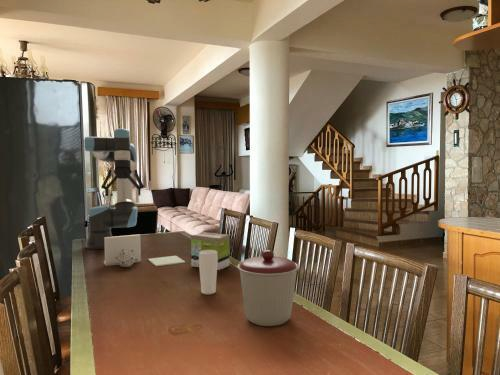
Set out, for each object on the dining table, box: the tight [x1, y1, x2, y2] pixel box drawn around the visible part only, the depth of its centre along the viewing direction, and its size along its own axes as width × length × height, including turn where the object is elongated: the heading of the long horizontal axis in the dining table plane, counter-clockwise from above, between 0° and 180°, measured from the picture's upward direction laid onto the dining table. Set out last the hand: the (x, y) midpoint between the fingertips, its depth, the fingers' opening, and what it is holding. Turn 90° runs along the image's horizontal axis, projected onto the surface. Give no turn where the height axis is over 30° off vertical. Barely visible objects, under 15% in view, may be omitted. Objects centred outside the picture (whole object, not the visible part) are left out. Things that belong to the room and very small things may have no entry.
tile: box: [147, 255, 186, 267], centre depth 190 cm, size 14×14×1 cm
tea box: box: [190, 231, 230, 271], centre depth 180 cm, size 15×10×15 cm
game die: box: [116, 250, 137, 269], centre depth 179 cm, size 9×8×10 cm
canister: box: [237, 249, 299, 327], centre depth 117 cm, size 18×18×21 cm
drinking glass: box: [198, 250, 218, 295], centre depth 143 cm, size 7×7×15 cm
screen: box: [103, 233, 142, 267], centre depth 187 cm, size 6×16×13 cm, turn 118°
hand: (123, 202), depth 195 cm, fingers open, 13 cm apart
